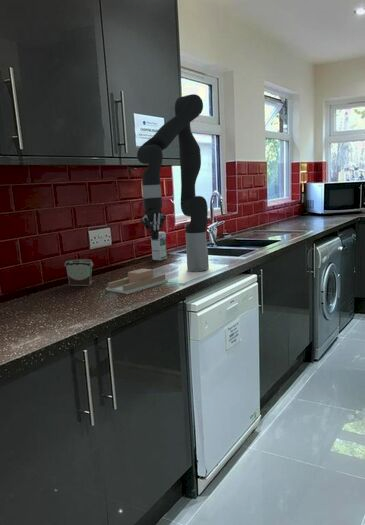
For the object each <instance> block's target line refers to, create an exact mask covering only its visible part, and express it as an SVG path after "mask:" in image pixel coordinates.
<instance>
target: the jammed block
mask: <svg viewBox="0 0 365 525" xmlns="http://www.w3.org/2000/svg"><path fill="white" fill-rule="evenodd" d="M150 277H154V270H153V269H151V268H149V269H148V268H140V269H139V268H137V269H135V270H131V271H128V272H127V278H128V282H129V283H133V282H136V281H140V280H143V279H147V278H150Z"/></svg>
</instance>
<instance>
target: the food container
mask: <svg viewBox="0 0 365 525" xmlns="http://www.w3.org/2000/svg"><path fill="white" fill-rule="evenodd" d="M93 266H94V263H93V261H92V259H88V258H84V259H83V258H80V259H79V258H78V259H71V260H66V261H65V262H64V267H66V268H65V270H66V274H67V279H68V285H69V286H78V287H79V286H83V287H86V286H87V287H88V286H92V285H93V284H92V281H93V279H92V277H93V276H92V273H93V271H92V270H93Z"/></svg>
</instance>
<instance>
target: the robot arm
mask: <svg viewBox="0 0 365 525" xmlns="http://www.w3.org/2000/svg"><path fill="white" fill-rule="evenodd" d="M203 102H204V101H203V100H202V98H201V97H200V95H197V94H194V93H193V94H188V95H183V96H179V97H177V99H176V100H175V103H174V114H175V116H174V117H172V118H170V119H169V120H168V121H166V122H165V123H164V124H163V125H161V127H160V128H159V129H158V130H157V131H156V132H155V133H154V135H153V136H152V137H150V138H149V139H148V140H147V141H146V142H144V143H142V144H141V145H140V147H139V148H138V150H137V152H136V157H137V160H138V162H139V163H140V164H144V165H147V169H146V170H144V171H142V174H141V176H142V177H141V178H142V204H143V209H144V216H143V217H141V218H140V221H141V223H142V224H143V226H144V227H145V228H146V230H149V231H150V240H151V239H152V240H157V239H158V238H159V232H160V231H159V230H160V229H162V228H163V225H164V223H165V221H166V218H167V215H166V214H164V213H163V211H162V208H163V197H162V193H163V192H162V187H161V172H162V171H161V170H162V165H163V158H164V155H163V151H164V150H166V149H167V148H168V147H169V146H170V144H172V143H173V141H174V140H175V138H176V137H178V148H179V152H178V153H179V165H180V168H179V169H180V210H181V212H182V214H183V215H184V216H185V217H190V222H189V223H188V224H187V225H185V227H184V228H185V247H186V248H185V249H186V270H187V271H188V272H204V270H205V271H207V270H208V269H210V268H209V267H210V266H209V263H210V262H209V249H208V246H207V245H208V244H207V243H208V242H207V227H208V221H209V220H208V213H209V212H208V207H209V206H208V202H207V200H206V198H205V197H204V196H202V195H196V183H197V178H198V176H199V174H200V170H201V166H202V155H201V153H202V152H201V147H200V146H199V143H198V141H197V140H196V138H195V136H194V134H193V132H192V129H191V122H192V121H194V120H195V119H196V118H198V117H199V116H200V115H201V113H202V112H203V109H204V103H203Z"/></svg>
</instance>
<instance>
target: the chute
mask: <svg viewBox="0 0 365 525" xmlns="http://www.w3.org/2000/svg"><path fill="white" fill-rule="evenodd" d="M168 280H169V279H166V274H165V273H162V274H161V273H160V274H158V275H155V276H154V275H153V277H150V278H147V279H143V280H140V281H136V282H133V283H129V282H128V277H125V278H121V279H117V280H115V281H111V282H107V287H106V289H105V290H106V291H109V292H114V293H120V294H126V295H129V294H133V293H137V292H139V291H143V290H146V289H149V288H152V287H157V286H159V285H162V284H166V283H168Z"/></svg>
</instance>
